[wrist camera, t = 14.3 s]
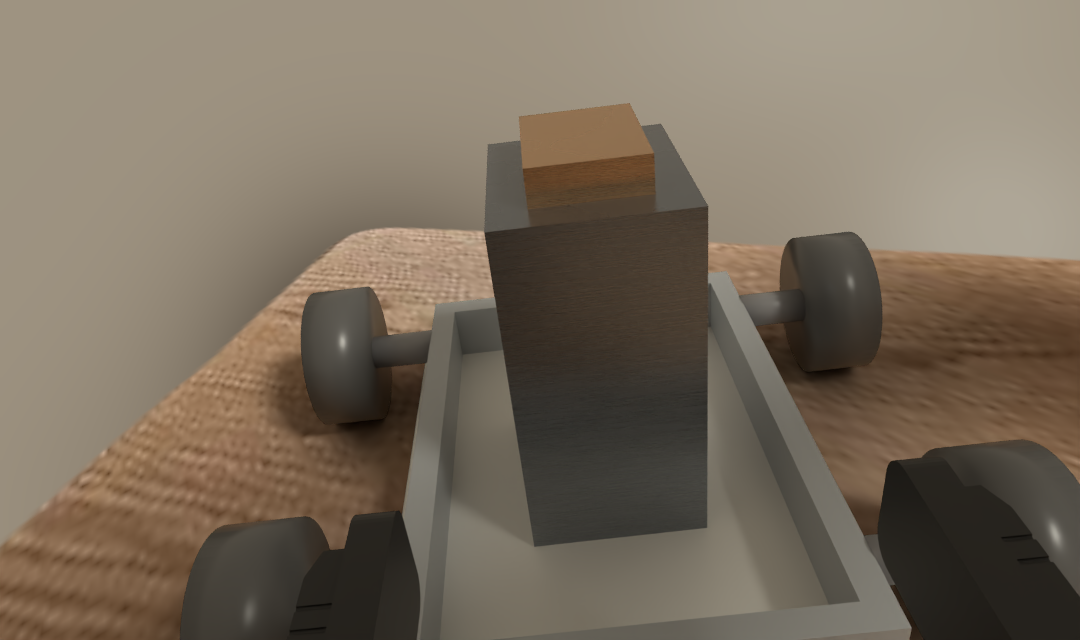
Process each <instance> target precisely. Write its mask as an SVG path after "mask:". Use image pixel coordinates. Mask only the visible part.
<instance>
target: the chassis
mask: <svg viewBox="0 0 1080 640" xmlns="http://www.w3.org/2000/svg"><path fill="white" fill-rule="evenodd" d="M778 323H784V327H785V331H786V335H787V338H788V342H789V345H790V348H791V350H792V353H793V355H794V357H795V359H796V361H797V362H798V364H799V365H800V366H801V368H802V369H804V370H805V371H809V372H811V371H820V370H829V369H838V368H847V367H856V366H864V365H867V364H869V363H870V362H871V361H872V360H873V359H874V357H875V355H876V353H877V350H878V347H879V343H880V338H881V331H882V300H881V292H880V285H879V280H878V276H877V272H876V268H875V265H874V262H873V260H872V257H871V255H870V252H869V250H868V248H867V247H866V245H865V243H864V242H863V241H862V239H861V238H860V237H859V236H858V235H856V234H855V233H853V232H842V233H834V234H826V235H816V236H807V237H799V238H792V239H791V240H789V241H788V243H787V244H786V246H785V249H784V252H783V255H782V260H781V268H780V291H775V292H766V293H758V294H749V295H740V296H739V294H738V292H737V290H736V289H735V287H734V285H733V283H732V281H731V279H730V277H729V275H728V273H727V271H724V272H715V273H708V451H707V528H701V529H692V530H683V531H674V532H665V533H656V534H647V535H637V536H628V537H619V538H610V539H601V540H592V541H583V542H573V543H564V544H555V545H546V546H537V547H534V542H533V535H532V529H531V523H530V517H529V510H528V504H527V498H526V491H525V485H524V479H523V473H522V466H521V460H520V454H519V447H518V441H517V435H516V428H515V422H514V416H513V410H512V403H511V397H510V391H509V384H508V378H507V372H506V365H505V359H504V353H503V347H502V340H501V334H500V328H499V321H498V315H497V309H496V302H495V298H486V299H477V300H468V301H460V302H451V303H442V304H436V306H435V313H434V319H433V326H432V330H430V331H421V332H412V333H403V334H394V335H388V333H387V328H386V323H385V319H384V315H383V311H382V308H381V305H380V302H379V300H378V298H377V296H376V294H375V292H374V291H373V289H371V288H370V287H361V288H353V289H344V290H335V291H326V292H318V293H313V294H311V295H310V296H309V297H308V299H307V301H306V304H305V307H304V311H303V316H302V324H301V355H302V365H303V372H304V377H305V382H306V387H307V391H308V394H309V398H310V401H311V403H312V406H313V408H314V410H315V412H316V414H317V416H318V417H319V419H320V420H321V421H322V422H323V423H324V424H327V425H331V424H340V423H349V422H358V421H367V420H376V419H383V418H384V417H385V416H386V414H387V412H388V409H389V405H390V399H391V385H392V372H391V367H394V366H403V365H412V364H421V363H425V367H424V374H423V381H422V387H421V394H420V400H419V407H418V414H417V420H416V427H415V433H414V440H413V447H412V453H411V460H410V466H409V473H408V480H407V486H406V493H405V499H404V506H403V513H402V517H403V520H404V524H405V527H406V531H407V535H408V538H409V542H410V546H411V549H412V553H413V557H414V560H415V564H416V568H417V572H418V576H419V583H420V616H419V625H418V634H417V640H909V638H910V634H911V629H912V628H911V626H910V624H909V622H908V620H907V618H906V616H905V614H904V612H903V610H902V608H901V607H900V605H899V603H898V601H897V599H896V597H895V595H894V593H893V591H892V589H891V587H890V585H895V583H894V582H893V580H892V578H891V576H890V574H889V572H888V570H887V568H886V566H885V564H884V561H883V559H882V555H881V552H880V548H879V542H878V534H875V535H866V536H864V535H863V533H862V531H861V529H860V528H859V526H858V524H857V522H856V520H855V518H854V516H853V514H852V512H851V510H850V508H849V506H848V504H847V502H846V501H845V499H844V497H843V495H842V493H841V491H840V489H839V487H838V485H837V483H836V481H835V479H834V477H833V475H832V474H831V472H830V470H829V468H828V466H827V464H826V462H825V460H824V458H823V456H822V454H821V452H820V450H819V449H818V447H817V445H816V443H815V441H814V439H813V437H812V435H811V433H810V431H809V429H808V427H807V425H806V423H805V422H804V420H803V418H802V416H801V414H800V412H799V410H798V408H797V406H796V404H795V402H794V400H793V398H792V396H791V395H790V393H789V391H788V389H787V387H786V385H785V383H784V381H783V379H782V377H781V375H780V373H779V371H778V369H777V368H776V366H775V364H774V362H773V360H772V358H771V356H770V354H769V352H768V350H767V348H766V346H765V344H764V343H763V341H762V339H761V337H760V335H759V333H758V331H757V329H756V327H755V326H760V325H769V324H778ZM934 456H940V457H942V458H944V459H945V460H946V461H947V462H948V464H949V465H950V466H951V468H952V469H953V471H954V472H955V473H956V475H957V476H958V478H959V479H960V480H961V482H962V483H963V485H964V486H965V487H966V486H975V485H982V486H983V487H984V488H986V489H987V490H989V491H990V492H991V493H993V494H994V495H996V496H997V497H998V498H1000V499H1001V500H1003V501H1004V502H1005V503H1007V504H1008V505H1010V506H1011V507H1012V508H1013V509H1014V511H1015V512H1016V513H1017V515H1018V516H1019V517H1020V518H1021V520H1022V521H1023V522H1024V524H1025V525H1026V526H1027V528H1028V529H1029V530H1030V532H1031V533H1032V537H1033V539H1036V540H1037V541H1038V542H1039V543H1040V545H1041V546H1042V547H1043V549H1044V550H1045V551H1046V553H1047V554H1048V555H1049V560H1050V562H1054V563H1055V565H1056V566H1057V567H1058V569H1059V570H1060V571H1061V572H1062V574H1063V575H1064V576H1065V578H1066V579H1067V580H1068V582H1069V583H1070V584H1071V586H1072V587H1073V588H1074V590H1075V591H1076V592H1077V594H1078V595H1079V596H1080V484H1079V483H1078V481H1077V480H1076V478H1075V477H1074V475H1073V474H1072V473H1071V472H1070V471H1069V469H1068V468H1067V467H1066V466H1065V465H1064V464H1063V463H1062V462H1061V461H1060V460H1059V459H1058V458H1057V457H1056V456H1055V455H1054V454H1053V453H1051V452H1050V451H1049V450H1048V449H1046V448H1044V447H1043V446H1041V445H1039V444H1037V443H1035V442H1032V441H1028V440H1023V439H1022V440H1009V441H999V442H990V443H981V444H972V445H962V446H953V447H944V448H935V449H932V450H929V451H928V452H927V453H925V454H924V455H923V457H922V458H924V457H934ZM329 550H330V548H329V545H328V542H327V540H326V537H325V535H324V533H323V531H322V529H321V528H320V526H319V525H318V523H317V522H316V521H315V520H314V519H312V518H310V517H306V516H305V517H295V518H286V519H277V520H268V521H258V522H249V523H240V524H231V525H224V526H221V527H219V528H217V529H216V530H215V531H214V532H213V533H211V535H210V536H209V537H208V538H207V539H206V541H205V542H204V544H203V545H202V547H201V549H200V551H199V553H198V555H197V557H196V559H195V562H194V564H193V567H192V570H191V573H190V576H189V580H188V583H187V587H186V592H185V596H184V602H183V609H182V617H181V628H180V640H287V637H288V636H289V634H290V632H289V629H290V625H291V622H292V618H293V615H294V612H296V604H297V600H298V597H299V593H300V590H301V586H302V582H303V579H304V577H305V575H306V574H307V573H308V571H309V570H310V569H311V567H312V566H313V564H314V563H315V562H316V560H317V559H318V558H319V556H320V555H321V554H322V552H323V551H329Z"/></svg>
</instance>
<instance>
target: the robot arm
mask: <svg viewBox="0 0 1080 640" xmlns="http://www.w3.org/2000/svg"><path fill="white" fill-rule="evenodd" d="M878 542H879V548H880V552H881V555H882V559H883V561H884V564H885V566H886V568H887V570H888V572H889V574H890V576H891V578H892V580H893V582H894V583H895V585H896V587H897V589H898V591H899V593H900V595H901V597H902V599H903V601H904V603H905V605H906V606H907V608H908V610H909V612H910V614H911V616H912V618H913V620H914V622H915V624H916V626H917V627H918V629H919V631H920V633H921V635H922V637H923V639H924V640H1080V596H1079V595H1078V594H1077V592H1076V591H1075V590H1074V588H1073V587H1072V586H1071V584H1070V583H1069V582H1068V580H1067V579H1066V578H1065V576H1064V575H1063V574H1062V572H1061V571H1060V570H1059V569H1058V567H1057V566H1056V565H1055V563H1054V562H1050V560H1049V555H1048V554H1047V553H1046V551H1045V550H1044V549H1043V547H1042V546H1041V545H1040V543H1039V542H1038V541H1037V540H1036V539H1033V537H1032V533H1031V532H1030V530H1029V529H1028V528H1027V526H1026V525H1025V524H1024V522H1023V521H1022V520H1021V518H1020V517H1019V516H1018V515H1017V513H1016V512H1015V511H1014V509H1013V508H1012V507H1011V506H1010V505H1008V504H1007V503H1005V502H1004V501H1003V500H1001V499H1000V498H998V497H997V496H996V495H994V494H993V493H991V492H990V491H989V490H987V489H986V488H984V487H983V486H982V485H975V486H966V487H965V486H964V485H963V483H962V482H961V480H960V479H959V478H958V476H957V475H956V473H955V472H954V471H953V469H952V468H951V466H950V465H949V464H948V462H947V461H946V460H945V459H944V458H942V457H940V456H934V457H924V458H915V459H905V460H895V461H891V462H890V463H889V465H888V467H887V472H886V478H885V484H884V491H883V497H882V503H881V509H880V516H879V522H878ZM419 616H420V583H419V576H418V572H417V568H416V564H415V560H414V557H413V553H412V549H411V546H410V542H409V538H408V535H407V531H406V527H405V524H404V520H403V517H402V514H401V513H400V511H391V512H381V513H371V514H362V515H355V516H354V517H353V518H352V520H351V523H350V527H349V532H348V536H347V540H346V545H345V549H338V550H329V551H323V552H322V554H321V555H320V556H319V558H318V559H317V560H316V562H315V563H314V564H313V566H312V567H311V569H310V570H309V571H308V573H307V574H306V575H305V577H304V579H303V582H302V586H301V590H300V593H299V597H298V600H297V604H296V612H294V615H293V618H292V622H291V625H290V629H289V632H290V634H289V636H288V637H287V640H417V634H418V625H419Z"/></svg>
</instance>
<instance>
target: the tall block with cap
mask: <svg viewBox="0 0 1080 640" xmlns="http://www.w3.org/2000/svg"><path fill="white" fill-rule="evenodd" d="M519 124H520V138H521V141H514V142H506V143H497V144H489V145H488V156H487V180H486V181H487V182H486V205H485V230H484V233H485V240H486V246H487V252H488V258H489V265H490V271H491V277H492V284H493V290H494V296H495V302H496V309H497V315H498V321H499V328H500V334H501V340H502V347H503V353H504V359H505V365H506V372H507V378H508V384H509V391H510V397H511V403H512V410H513V416H514V422H515V428H516V435H517V441H518V447H519V454H520V460H521V466H522V473H523V479H524V485H525V491H526V498H527V504H528V510H529V517H530V523H531V529H532V535H533V542H534V547H537V546H546V545H555V544H564V543H573V542H583V541H592V540H601V539H610V538H619V537H628V536H637V535H647V534H656V533H665V532H674V531H683V530H692V529H701V528H707V451H708V206H707V203H706V202H705V200H704V198H703V196H702V195H701V193H700V191H699V189H698V188H697V186H696V184H695V182H694V181H693V179H692V177H691V175H690V174H689V172H688V170H687V168H686V167H685V165H684V163H683V162H682V160H681V158H680V156H679V154H678V153H677V151H676V149H675V147H674V146H673V144H672V142H671V140H670V139H669V137H668V135H667V133H666V132H665V130H664V128H663V126H662V125H661V124H656V125H648V126H641V125H640V123H639V121H638V119H637V117H636V115H635V114H634V111H633V109H632V107H631V105H630V103H628V104H619V105H611V106H603V107H595V108H587V109H578V110H570V111H561V112H553V113H544V114H536V115H528V116H520V117H519Z"/></svg>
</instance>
